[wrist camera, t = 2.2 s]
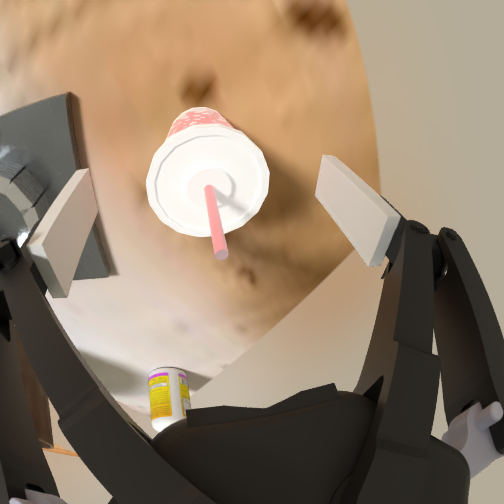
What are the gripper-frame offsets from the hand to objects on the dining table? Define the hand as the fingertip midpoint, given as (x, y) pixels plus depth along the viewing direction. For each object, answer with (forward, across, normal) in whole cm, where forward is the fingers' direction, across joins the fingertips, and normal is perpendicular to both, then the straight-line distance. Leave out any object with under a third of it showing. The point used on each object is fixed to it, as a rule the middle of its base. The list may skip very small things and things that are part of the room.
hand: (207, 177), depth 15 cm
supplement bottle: (+8, -8, -38) cm, 39 cm away
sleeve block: (+7, -19, -4) cm, 21 cm away
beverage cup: (+8, 0, 0) cm, 8 cm away
